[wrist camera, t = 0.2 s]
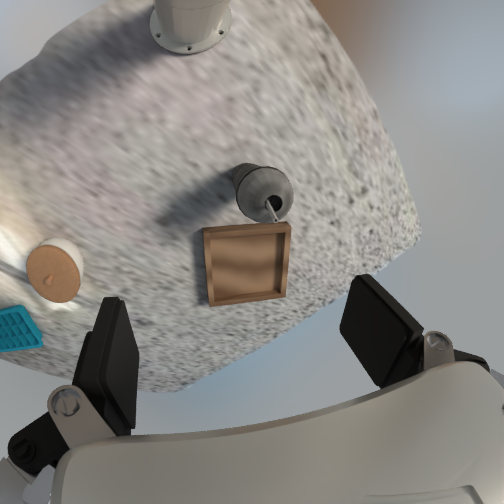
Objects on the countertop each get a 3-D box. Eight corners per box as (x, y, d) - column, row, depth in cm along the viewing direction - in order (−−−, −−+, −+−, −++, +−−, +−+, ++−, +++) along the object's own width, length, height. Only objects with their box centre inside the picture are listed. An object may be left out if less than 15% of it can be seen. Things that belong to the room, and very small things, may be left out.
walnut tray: (202, 227, 47) (203, 233, 45) (286, 221, 50) (291, 226, 48) (208, 299, 54) (209, 306, 51) (281, 290, 57) (285, 297, 55)
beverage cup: (270, 191, 47) (322, 240, 29) (228, 202, 46) (258, 258, 28) (263, 150, 43) (317, 175, 26) (219, 160, 42) (244, 191, 25)
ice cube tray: (-20, 311, 41) (-25, 318, 39) (23, 299, 44) (18, 307, 41) (2, 345, 47) (-2, 352, 45) (48, 337, 50) (44, 346, 47)
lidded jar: (98, 244, 43) (83, 272, 35) (81, 288, 46) (68, 318, 38) (51, 218, 39) (28, 240, 31) (38, 264, 42) (18, 290, 33)
